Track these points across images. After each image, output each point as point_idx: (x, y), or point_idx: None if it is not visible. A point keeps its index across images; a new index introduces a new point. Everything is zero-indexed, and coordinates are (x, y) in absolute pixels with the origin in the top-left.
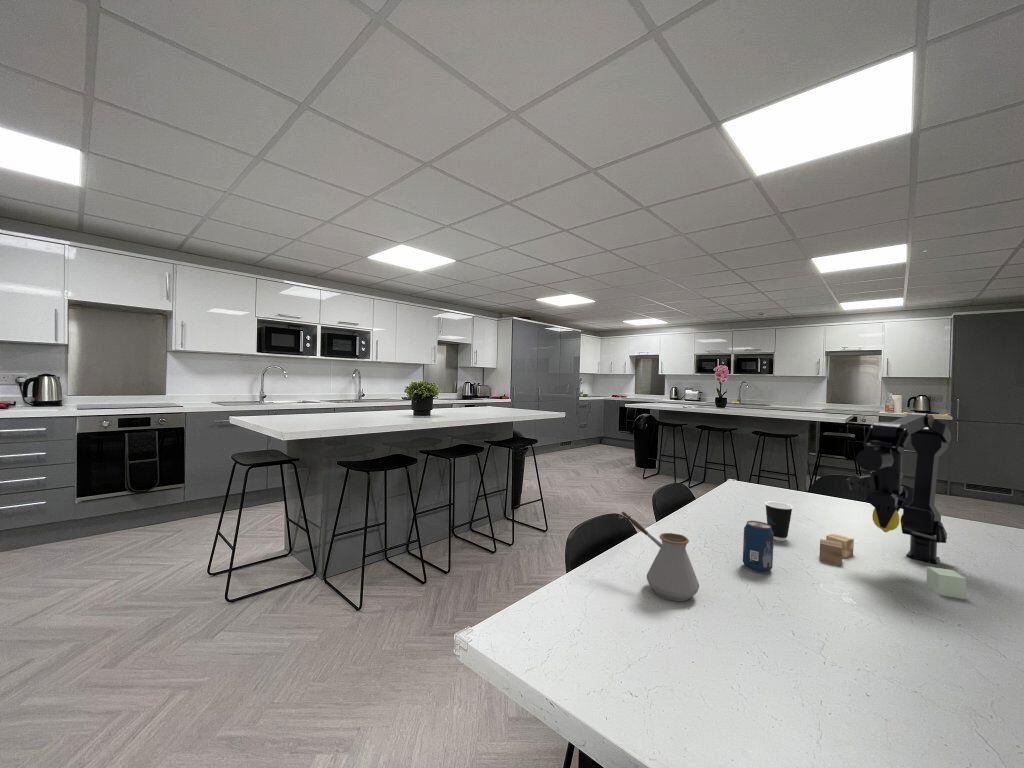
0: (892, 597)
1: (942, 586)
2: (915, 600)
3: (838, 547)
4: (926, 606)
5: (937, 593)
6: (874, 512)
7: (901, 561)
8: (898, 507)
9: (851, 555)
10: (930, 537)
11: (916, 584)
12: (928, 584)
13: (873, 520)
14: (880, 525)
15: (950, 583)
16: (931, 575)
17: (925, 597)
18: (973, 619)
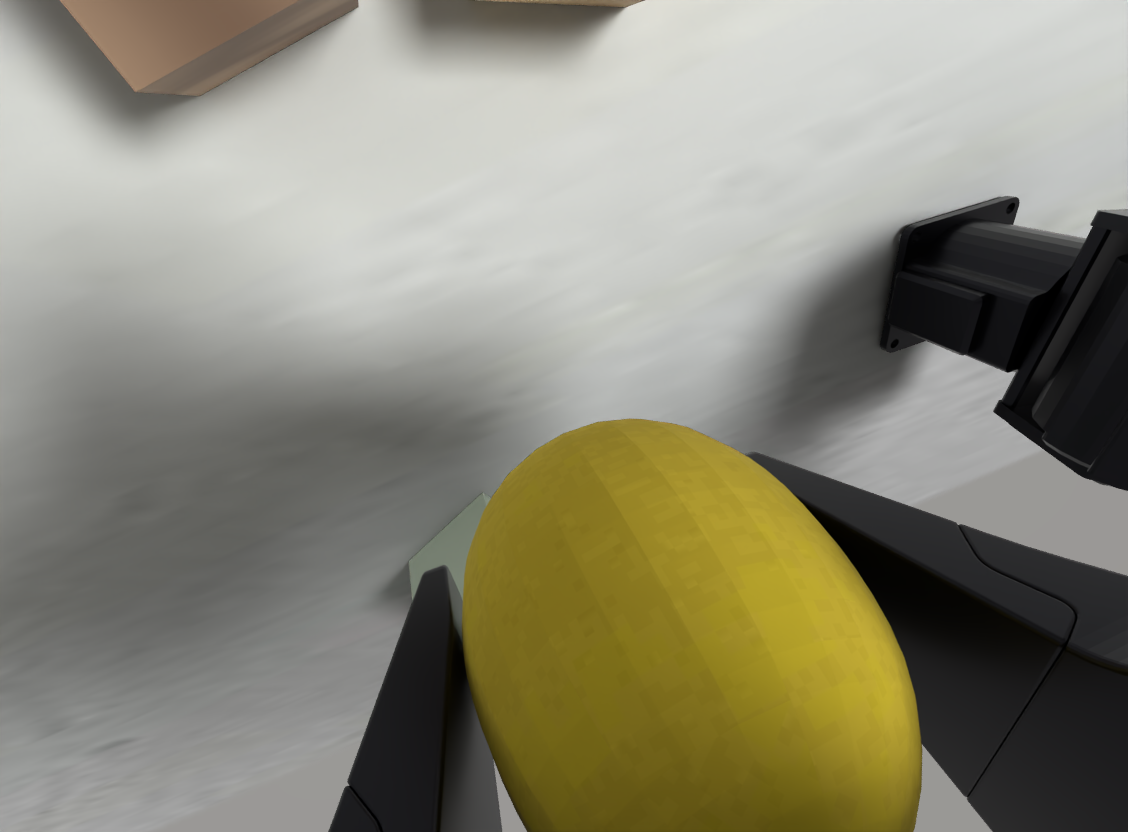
0: (30, 562)
1: None
2: (170, 594)
3: (96, 43)
4: (156, 639)
5: (411, 561)
6: (549, 643)
7: (785, 256)
8: (965, 790)
9: (594, 5)
10: (1055, 366)
11: (443, 474)
12: (472, 513)
13: (523, 482)
14: (420, 591)
15: None
16: (463, 574)
17: (288, 576)
18: (263, 711)
